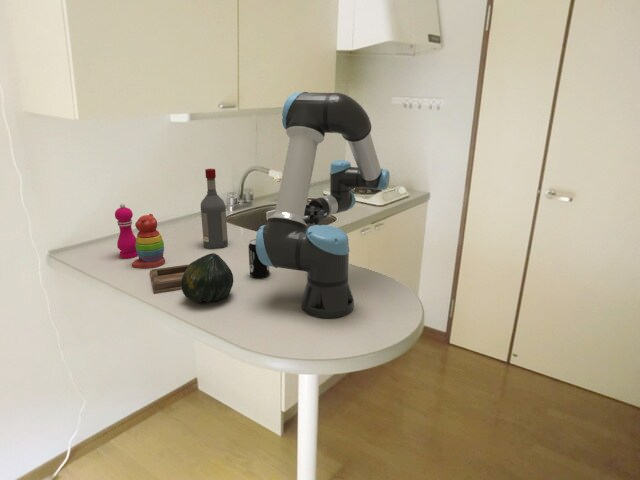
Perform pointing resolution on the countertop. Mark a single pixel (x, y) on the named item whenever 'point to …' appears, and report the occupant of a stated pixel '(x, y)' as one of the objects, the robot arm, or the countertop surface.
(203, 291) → the squash
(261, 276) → the beverage can
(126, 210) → the pepper mill
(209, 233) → the liquor
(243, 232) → the countertop surface
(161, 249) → the stacking bear
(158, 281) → the brown wooden flat tray
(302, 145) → the robot arm
